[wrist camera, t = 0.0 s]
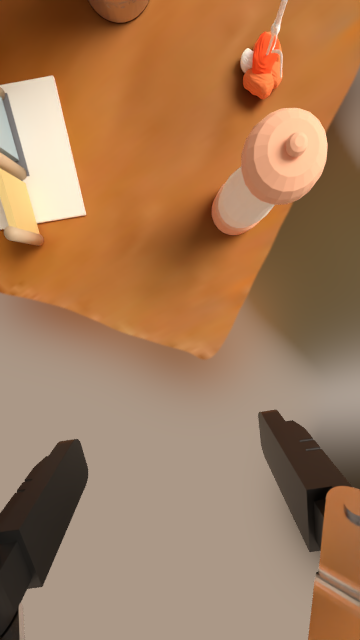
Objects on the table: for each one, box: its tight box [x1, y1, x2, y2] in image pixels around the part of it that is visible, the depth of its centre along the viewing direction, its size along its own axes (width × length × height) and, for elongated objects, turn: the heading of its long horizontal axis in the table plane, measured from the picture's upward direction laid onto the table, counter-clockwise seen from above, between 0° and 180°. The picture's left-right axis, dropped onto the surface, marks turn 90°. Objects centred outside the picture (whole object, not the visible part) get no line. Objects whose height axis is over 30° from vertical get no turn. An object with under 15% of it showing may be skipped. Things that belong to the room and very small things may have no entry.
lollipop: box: [240, 0, 288, 99], centre depth 26 cm, size 6×10×12 cm, turn 173°
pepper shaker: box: [212, 108, 327, 235], centre depth 26 cm, size 7×7×19 cm
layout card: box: [0, 75, 86, 230], centre depth 33 cm, size 18×20×1 cm
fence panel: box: [0, 168, 44, 246], centre depth 31 cm, size 9×2×6 cm, turn 9°
